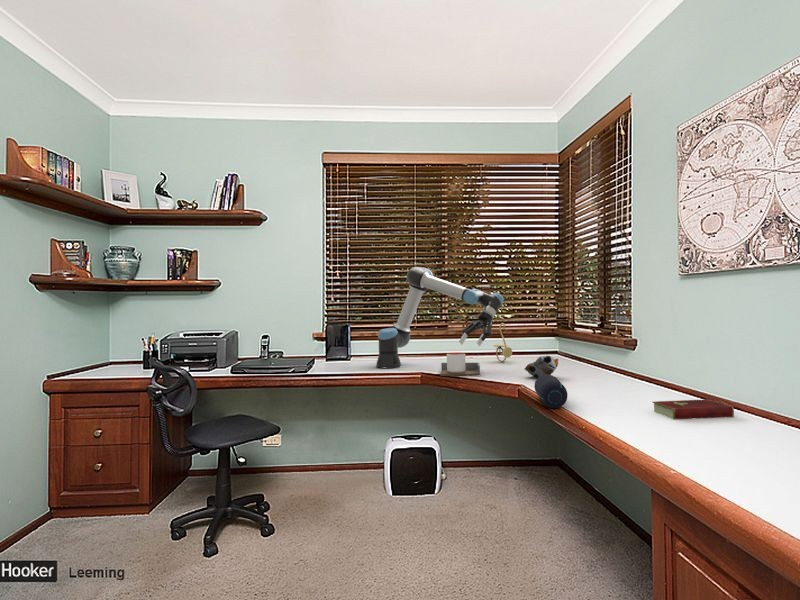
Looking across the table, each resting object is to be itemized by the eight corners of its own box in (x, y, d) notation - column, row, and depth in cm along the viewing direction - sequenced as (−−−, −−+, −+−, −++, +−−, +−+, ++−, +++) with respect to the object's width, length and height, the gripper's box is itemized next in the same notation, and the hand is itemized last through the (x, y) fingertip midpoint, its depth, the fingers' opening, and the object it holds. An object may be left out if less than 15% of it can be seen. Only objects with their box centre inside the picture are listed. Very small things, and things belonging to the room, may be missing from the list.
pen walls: (441, 369, 284) (441, 362, 284) (479, 369, 281) (479, 362, 281) (440, 373, 269) (440, 366, 269) (480, 373, 266) (479, 366, 266)
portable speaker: (569, 410, 182) (569, 383, 182) (541, 410, 183) (540, 383, 183) (558, 397, 207) (557, 372, 207) (533, 397, 208) (532, 372, 208)
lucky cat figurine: (540, 374, 267) (553, 351, 263) (554, 386, 256) (567, 363, 253) (519, 368, 260) (532, 345, 257) (532, 380, 250) (545, 356, 246)
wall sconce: (514, 362, 316) (513, 323, 316) (501, 363, 313) (500, 323, 313) (502, 360, 329) (502, 322, 329) (490, 361, 326) (489, 322, 326)
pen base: (441, 371, 284) (441, 369, 284) (479, 371, 281) (479, 369, 281) (440, 376, 269) (440, 373, 269) (480, 375, 266) (480, 373, 266)
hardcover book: (734, 418, 167) (733, 405, 167) (673, 421, 165) (673, 408, 165) (708, 410, 179) (708, 398, 179) (652, 412, 177) (652, 400, 177)
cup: (462, 370, 280) (461, 352, 280) (468, 372, 270) (467, 354, 270) (444, 371, 278) (444, 353, 278) (450, 373, 268) (449, 355, 268)
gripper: (507, 320, 282) (489, 349, 272) (474, 319, 301) (456, 346, 292) (500, 311, 278) (482, 340, 269) (467, 311, 298) (450, 338, 289)
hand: (469, 343), depth 280 cm, fingers open, 13 cm apart
